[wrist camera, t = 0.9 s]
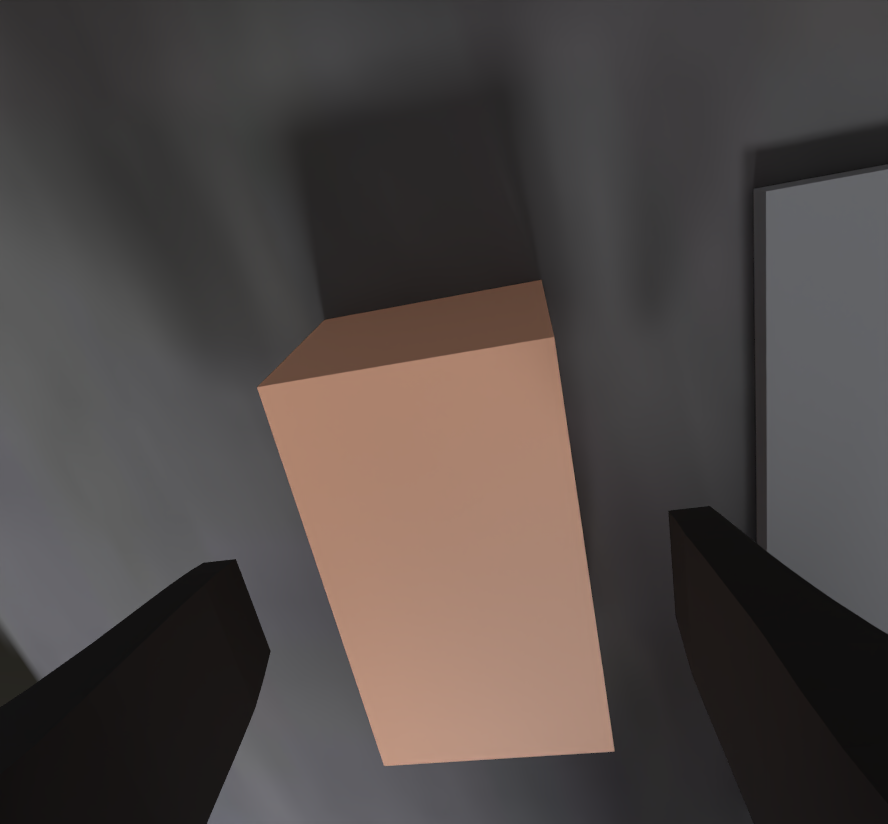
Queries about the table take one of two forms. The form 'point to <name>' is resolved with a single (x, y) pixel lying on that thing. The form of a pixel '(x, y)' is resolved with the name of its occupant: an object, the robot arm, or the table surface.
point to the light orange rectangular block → (448, 524)
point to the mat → (824, 383)
